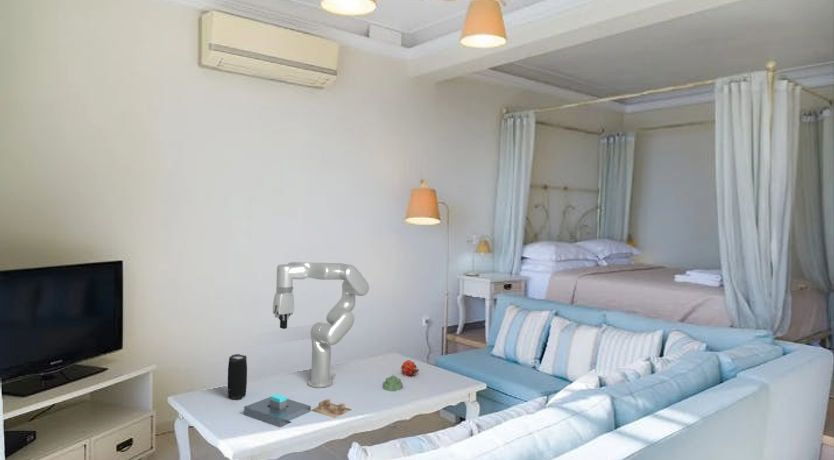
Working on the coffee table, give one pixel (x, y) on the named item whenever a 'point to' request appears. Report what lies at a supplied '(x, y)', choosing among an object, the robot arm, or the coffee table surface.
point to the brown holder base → (331, 409)
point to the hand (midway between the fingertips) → (283, 328)
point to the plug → (278, 401)
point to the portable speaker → (237, 376)
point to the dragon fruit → (409, 368)
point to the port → (276, 412)
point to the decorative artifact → (392, 384)
